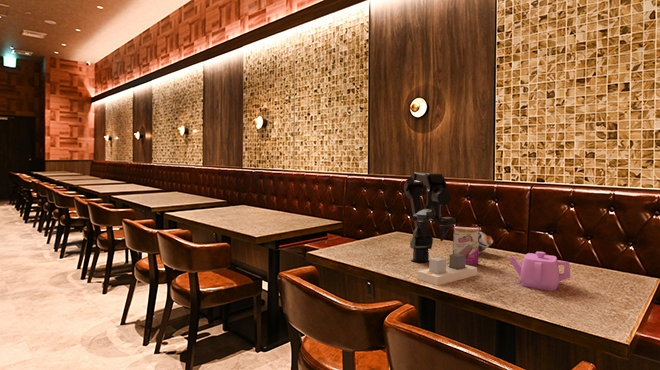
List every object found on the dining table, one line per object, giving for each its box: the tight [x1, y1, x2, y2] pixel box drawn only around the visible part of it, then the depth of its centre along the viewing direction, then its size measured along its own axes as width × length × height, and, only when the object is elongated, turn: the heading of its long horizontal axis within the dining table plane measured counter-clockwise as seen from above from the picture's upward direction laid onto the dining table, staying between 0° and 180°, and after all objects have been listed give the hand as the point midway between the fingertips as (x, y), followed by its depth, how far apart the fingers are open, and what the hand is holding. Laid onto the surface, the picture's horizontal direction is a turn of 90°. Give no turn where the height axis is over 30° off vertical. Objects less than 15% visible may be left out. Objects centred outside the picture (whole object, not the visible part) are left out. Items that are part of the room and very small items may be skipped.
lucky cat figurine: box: [479, 231, 494, 254], centre depth 203 cm, size 15×12×14 cm
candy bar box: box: [452, 226, 480, 266], centre depth 182 cm, size 11×5×16 cm, turn 71°
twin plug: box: [448, 253, 466, 270], centre depth 163 cm, size 4×5×8 cm
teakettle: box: [508, 251, 571, 292], centre depth 153 cm, size 17×17×12 cm
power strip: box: [416, 263, 478, 286], centre depth 160 cm, size 10×24×4 cm, turn 125°
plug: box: [428, 256, 447, 275], centre depth 156 cm, size 4×5×8 cm
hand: (432, 239), depth 172 cm, fingers open, 9 cm apart
